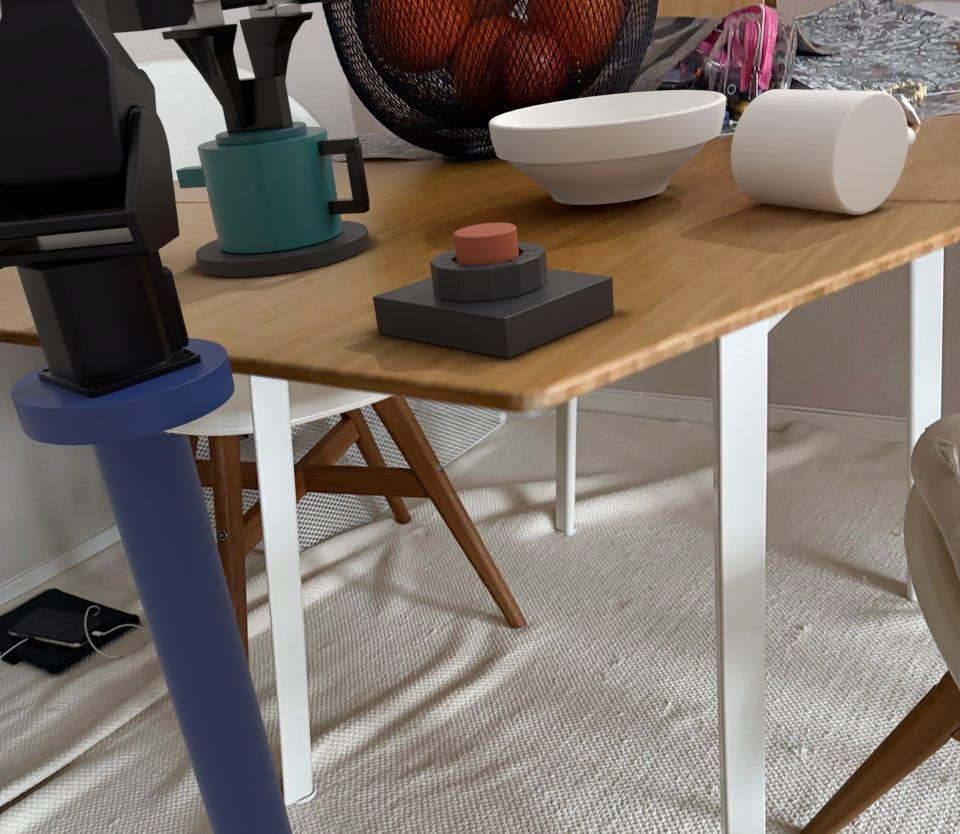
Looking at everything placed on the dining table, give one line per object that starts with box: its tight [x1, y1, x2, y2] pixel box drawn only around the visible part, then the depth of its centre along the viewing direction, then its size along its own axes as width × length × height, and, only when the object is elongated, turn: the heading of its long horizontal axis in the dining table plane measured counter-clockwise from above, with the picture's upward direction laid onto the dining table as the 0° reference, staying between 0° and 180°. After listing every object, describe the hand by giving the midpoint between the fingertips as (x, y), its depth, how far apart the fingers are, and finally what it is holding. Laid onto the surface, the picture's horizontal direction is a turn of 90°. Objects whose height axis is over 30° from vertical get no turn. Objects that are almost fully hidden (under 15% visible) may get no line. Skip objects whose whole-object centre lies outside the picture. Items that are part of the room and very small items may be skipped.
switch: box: [453, 222, 519, 265], centre depth 63 cm, size 4×4×2 cm
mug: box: [730, 88, 916, 216], centre depth 81 cm, size 12×10×8 cm
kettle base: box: [195, 220, 371, 278], centre depth 89 cm, size 14×14×1 cm
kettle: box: [175, 75, 371, 254], centre depth 85 cm, size 16×10×12 cm, turn 71°
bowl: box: [488, 89, 727, 206], centre depth 92 cm, size 20×20×7 cm
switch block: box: [372, 241, 615, 360], centre depth 64 cm, size 11×9×4 cm
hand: (258, 124), depth 84 cm, fingers closed on kettle, 3 cm apart
